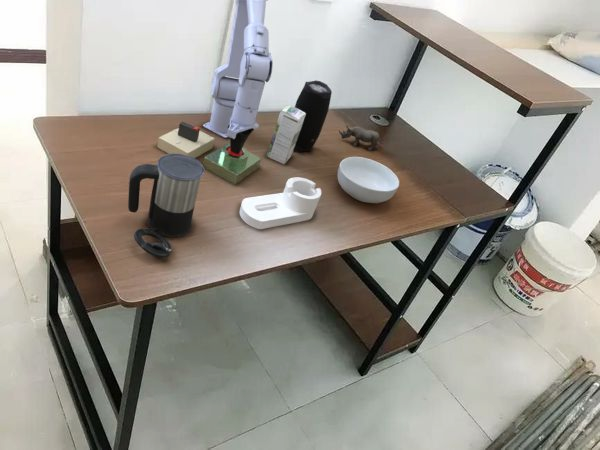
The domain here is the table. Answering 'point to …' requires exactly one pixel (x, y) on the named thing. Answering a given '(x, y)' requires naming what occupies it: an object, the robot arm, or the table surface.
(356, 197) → the cereal bowl
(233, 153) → the button
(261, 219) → the bracket
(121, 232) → the table surface
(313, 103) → the portable speaker
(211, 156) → the push button base
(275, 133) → the syrup box
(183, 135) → the block
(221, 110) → the robot arm
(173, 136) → the dial panel
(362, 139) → the rhino figurine
